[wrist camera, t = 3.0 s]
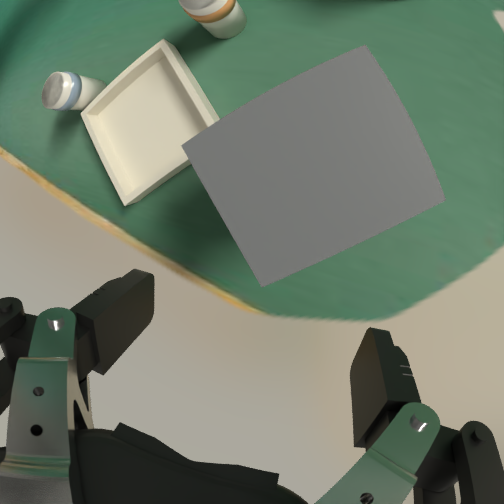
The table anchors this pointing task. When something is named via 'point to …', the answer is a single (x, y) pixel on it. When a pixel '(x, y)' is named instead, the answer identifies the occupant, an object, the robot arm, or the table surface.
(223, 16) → the white orange rounded cylinder
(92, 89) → the blue-band fuse
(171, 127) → the parts tray
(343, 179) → the control box
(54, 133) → the table surface
